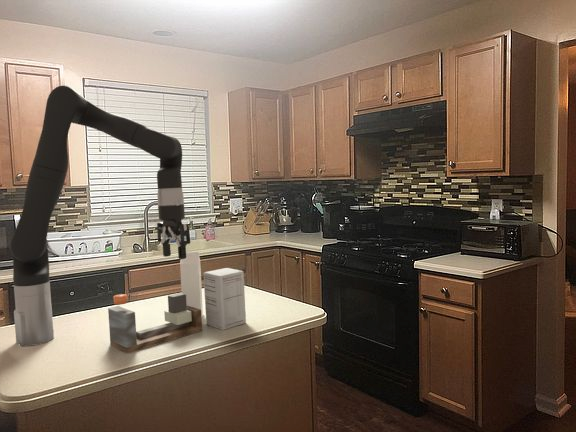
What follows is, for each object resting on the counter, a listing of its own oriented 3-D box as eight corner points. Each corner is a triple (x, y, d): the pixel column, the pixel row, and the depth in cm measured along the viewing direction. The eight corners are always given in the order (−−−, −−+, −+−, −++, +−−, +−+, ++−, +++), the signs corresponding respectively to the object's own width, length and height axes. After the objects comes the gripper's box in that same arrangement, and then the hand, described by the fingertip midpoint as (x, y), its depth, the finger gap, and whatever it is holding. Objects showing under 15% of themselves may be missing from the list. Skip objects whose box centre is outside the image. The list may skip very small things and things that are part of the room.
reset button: (117, 305, 127) (116, 298, 127) (111, 303, 129) (111, 296, 129) (130, 302, 129) (129, 295, 129) (124, 300, 132) (123, 293, 132)
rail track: (126, 353, 126) (124, 314, 125) (110, 344, 133) (108, 308, 132) (202, 330, 143) (200, 296, 142) (184, 324, 150) (182, 291, 149)
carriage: (177, 325, 138) (175, 298, 138) (164, 320, 143) (163, 294, 142) (191, 321, 142) (190, 294, 141) (179, 316, 147) (177, 291, 146)
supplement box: (229, 317, 155) (227, 267, 154) (247, 323, 149) (244, 270, 147) (205, 324, 149) (202, 271, 148) (222, 330, 142) (219, 275, 141)
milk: (185, 316, 159) (181, 251, 158) (203, 314, 160) (199, 250, 158) (182, 321, 153) (179, 254, 152) (201, 319, 154) (198, 253, 152)
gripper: (147, 204, 142) (151, 257, 144) (172, 204, 132) (176, 261, 134) (169, 202, 148) (172, 253, 149) (195, 202, 138) (198, 257, 139)
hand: (174, 257), depth 141 cm, fingers open, 8 cm apart
